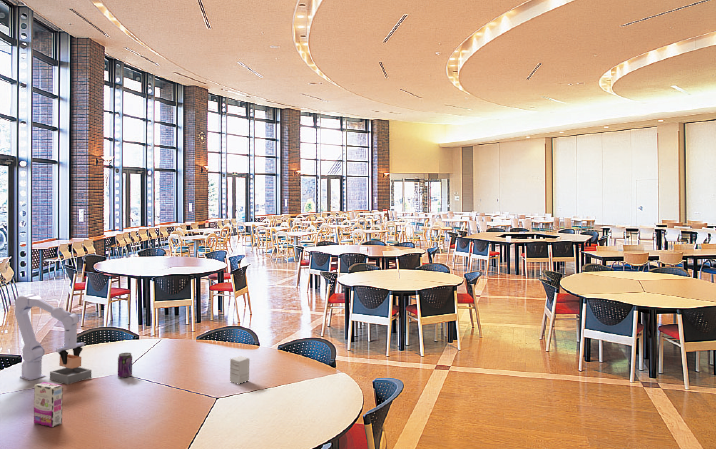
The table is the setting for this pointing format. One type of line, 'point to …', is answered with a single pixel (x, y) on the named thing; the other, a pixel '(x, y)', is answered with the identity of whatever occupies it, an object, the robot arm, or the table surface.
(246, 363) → the grey drawer cabinet
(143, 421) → the table surface
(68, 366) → the box
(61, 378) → the big crate
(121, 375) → the beverage can
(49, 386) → the candy bar box
